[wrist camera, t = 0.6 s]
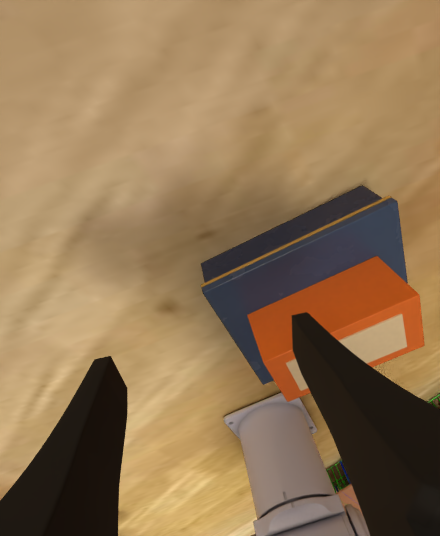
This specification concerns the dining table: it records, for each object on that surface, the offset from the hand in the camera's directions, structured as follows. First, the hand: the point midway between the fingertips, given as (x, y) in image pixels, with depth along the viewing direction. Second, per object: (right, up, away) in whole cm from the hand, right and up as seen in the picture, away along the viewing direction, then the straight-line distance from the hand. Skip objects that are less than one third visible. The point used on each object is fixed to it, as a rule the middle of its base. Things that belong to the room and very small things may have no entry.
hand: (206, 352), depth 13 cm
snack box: (+7, +1, +9) cm, 12 cm away
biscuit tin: (+7, +3, +12) cm, 14 cm away
